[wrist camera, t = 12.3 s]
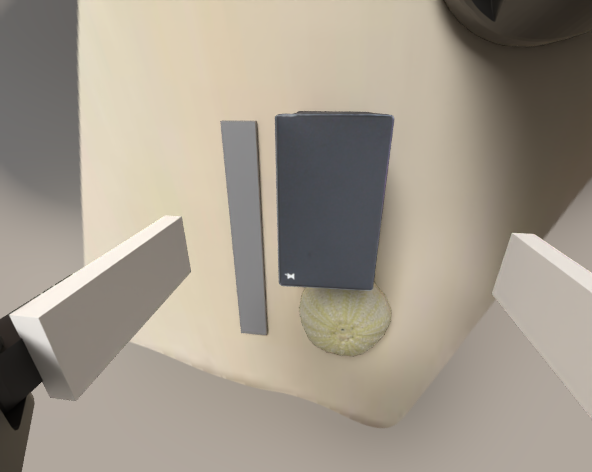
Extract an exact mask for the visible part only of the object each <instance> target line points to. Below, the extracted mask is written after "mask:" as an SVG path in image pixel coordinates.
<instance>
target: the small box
mask: <svg viewBox="0 0 592 472" xmlns="http://www.w3.org/2000/svg"><path fill="white" fill-rule="evenodd" d="M393 126H394V117H393V116H392V115H388V114H377V113H370V112H326V111H324V112H321V111H299V112H297V113H294V114H278V115H276V116H275V142H276V188H277V227H278V268H279V270H278V271H279V284H280V285H281V286H293V287H309V288H327V289H341V290H361V291H371V290H372V289H373V284H374V276H375V268H376V260H377V251H378V243H379V235H380V227H381V219H382V211H383V203H384V195H385V187H386V180H387V172H388V164H389V157H390V149H391V141H392V134H393Z"/></svg>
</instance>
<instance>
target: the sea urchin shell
mask: <svg viewBox="0 0 592 472" xmlns="http://www.w3.org/2000/svg"><path fill="white" fill-rule="evenodd" d="M299 312H300V317H301V323H302V326H303V327H304V330H305V332H306V334H307V336H308V338H309V340H310V341H312V343H313V344H314V345H315V346H317V347H319V348H321V349H322V350H325V352H328V353H329V352H330V353H334V354H337V355H341V356H343V355H347V356H356V355H360V354H362V353H363V352H365V351H367V350H368V349H370V348H372V347H373V346H374V344H375V343H376V342H377V341H379V340H380V339H381V338H382V337H383V335H385V332H386V330H387V328H388V326H389V323H390V322H391V321H390V320H391V308H390V306H389V303H388V301H387V299H386V296H385V294H384V293H383V292H382V291H381V290H380V289H379V288H378V287H377V285H376V284H375V283H374V284H373V289H372V290H371V291H361V290H341V289H327V288H309V287H306V289H305V290H304V291H303V293H302V295H301V302H300V307H299Z"/></svg>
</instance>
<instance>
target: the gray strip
mask: <svg viewBox="0 0 592 472" xmlns="http://www.w3.org/2000/svg"><path fill="white" fill-rule="evenodd" d="M220 122H221V132H222V142H223V152H224V162H225V173H226V183H227V193H228V203H229V214H230V224H231V234H232V244H233V254H234V265H235V275H236V285H237V295H238V306H239V316H240V326H241V333H249V334H260V335H267V316H266V296H265V277H264V257H263V238H262V218H261V198H260V179H259V159H258V140H257V121H220Z"/></svg>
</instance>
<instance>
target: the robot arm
mask: <svg viewBox="0 0 592 472" xmlns="http://www.w3.org/2000/svg"><path fill="white" fill-rule="evenodd" d="M444 1H445V3H446V4H447V6H448V8H449V9H450V11H451V12H452V13H453V15H454V16H455V17H456V18H457V19H458V21H459V22H460V23H462V24H463V25H464V26H465V27H466V28H467V29H468V30H470V31H471V32H473V33H474V34H476V35H477V36H479V37H481V38H483V39H485V40H488V41H490V42H493V43H497V44H501V45H506V46H514V47H530V46H539V45H545V44H549V43H553V42H557V41H560V40H564V39H567V38H570V37H574V36H577V35H581V34H583V33H586V32H589V31H592V0H444ZM190 272H191V268H190V262H189V256H188V251H187V245H186V239H185V233H184V227H183V221H182V216H164V217H162V218H160V219H159V220H157V221H156V222H154V223H153V224H151V225H149V226H148V227H146V228H145V229H143V230H142V231H140V232H138V233H137V234H135V235H134V236H132V237H131V238H129V239H127V240H126V241H124V242H123V243H121V244H120V245H118V246H116V247H115V248H113V249H112V250H110V251H109V252H107V253H105V254H104V255H102V256H101V257H99V258H98V259H96V260H94V261H93V262H91V263H90V264H88V265H87V266H85V267H83V268H82V269H81V270H79V271H77V272H76V273H74V274H71V275H69V276H68V277H66V278H65V279H63V280H61V281H60V282H58V283H57V284H55V286H52V287H50V288H49V289H47V290H46V291H44V292H43V294H39V295H38V296H36V297H34V298H33V299H31V300H30V301H28V302H26V303H25V304H23V305H22V306H20V307H19V308H17V309H15V310H14V311H12V312H11V313H9V314H8V315H6V316H5V317H3V318H1V319H0V472H22V467H23V461H24V456H25V450H26V445H27V440H28V435H29V430H30V424H31V419H32V414H33V408H34V398H33V395H32V394H31V392H32V391H33V390H34V388H36V387H37V386H38V385H39V384H40V383H41V382H43V384H44V386H45V388H46V390H47V392H48V394H49V396H50V398H57V399H64V400H71V401H76V400H77V399H78V398H79V397H80V396H81V395H82V394H83V392H84V391H85V390H86V389H87V388H88V387H89V386H90V385H91V384H92V382H93V381H94V380H95V379H96V378H97V377H98V376H99V375H100V373H101V372H102V371H103V370H104V369H105V368H106V367H107V366H108V364H109V363H110V362H111V361H112V360H113V359H114V357H116V355H117V354H118V353H119V352H120V351H121V350H122V349H123V348H124V346H125V345H126V344H127V343H128V342H129V341H130V340H131V339H132V338H133V336H134V335H135V334H136V333H137V332H138V331H139V330H140V329H141V327H142V326H143V325H144V324H145V323H146V322H147V321H148V320H149V318H150V317H151V316H152V315H153V314H154V313H155V312H156V311H157V309H158V308H159V307H160V306H161V305H162V304H163V303H164V302H165V300H166V299H167V298H168V297H169V296H170V295H171V294H172V293H173V291H174V290H175V289H176V288H177V287H178V286H179V285H180V284H181V282H182V281H183V280H184V279H185V278H186V277H187V276H188V275H189V273H190ZM492 295H493V296H494V297H495V299H496V300H497V301H498V302H499V304H500V305H501V306H502V307H503V309H504V310H505V311H506V312H507V314H508V315H509V316H510V317H511V319H512V320H513V321H514V322H515V324H516V325H517V326H518V328H519V329H520V330H521V331H522V332H523V334H524V335H525V336H526V338H527V339H528V340H529V341H530V343H531V344H532V345H533V346H534V347H535V349H536V350H537V351H538V353H539V354H540V355H541V356H542V357H543V359H544V360H545V361H546V363H547V364H548V365H549V366H550V368H551V369H552V370H553V371H554V373H555V374H556V375H557V376H558V378H559V379H560V380H561V381H562V383H563V384H564V385H565V386H566V387H567V389H568V390H569V391H570V393H571V394H572V395H573V396H574V398H575V399H576V400H577V401H578V403H579V404H580V405H581V406H582V408H583V409H584V410H585V411H586V413H587V414H588V415H589V416H590V418H591V419H592V272H590V271H589V270H587V269H586V268H584V267H583V266H581V265H580V264H578V263H577V262H575V261H574V260H572V259H571V258H569V257H568V256H566V255H565V254H563V253H562V252H560V251H559V250H557V249H556V248H554V247H553V246H551V245H549V244H548V243H547V242H545V241H544V240H542V239H541V238H539V237H538V236H536V235H535V234H525V233H512V234H511V237H510V240H509V243H508V246H507V249H506V252H505V255H504V258H503V261H502V264H501V267H500V270H499V273H498V277H497V280H496V283H495V286H494V289H493V292H492Z"/></svg>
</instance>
